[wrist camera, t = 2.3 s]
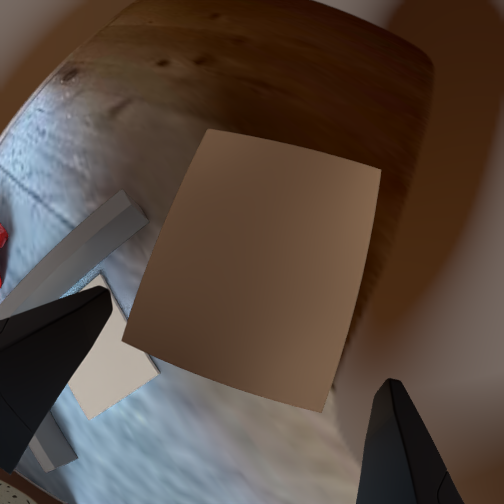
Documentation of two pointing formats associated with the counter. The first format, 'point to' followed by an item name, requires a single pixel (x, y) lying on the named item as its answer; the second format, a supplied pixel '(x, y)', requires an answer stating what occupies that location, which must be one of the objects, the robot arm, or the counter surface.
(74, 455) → the grey long angled bar
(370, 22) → the counter surface
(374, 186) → the walnut block
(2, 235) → the cap
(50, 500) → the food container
